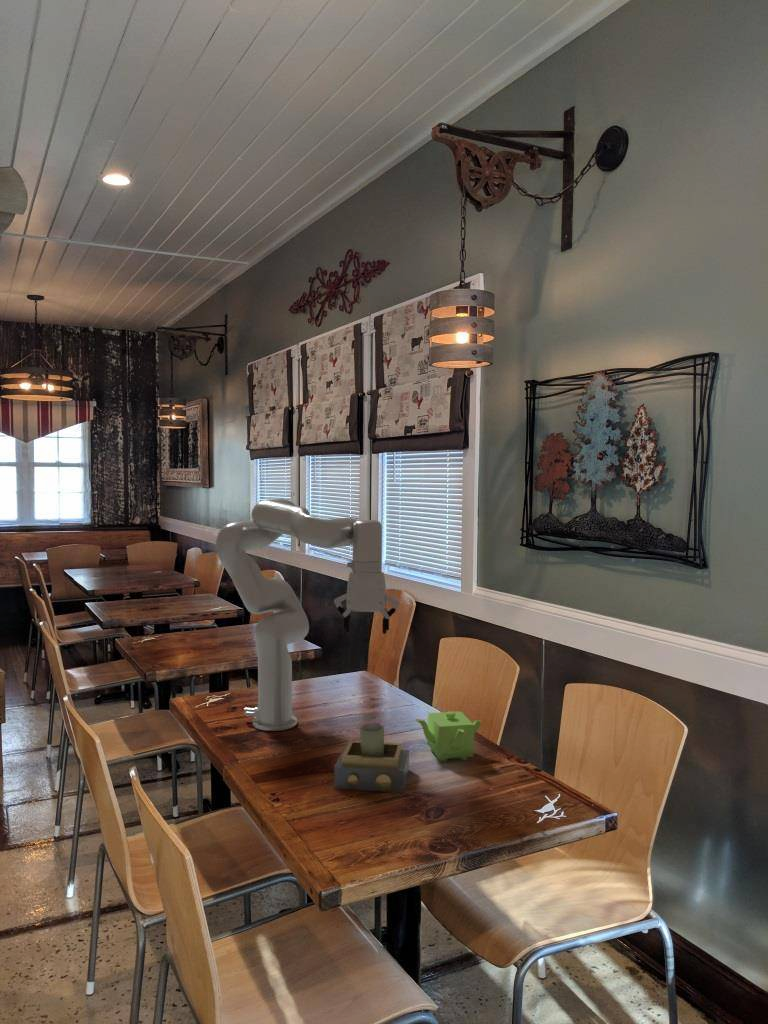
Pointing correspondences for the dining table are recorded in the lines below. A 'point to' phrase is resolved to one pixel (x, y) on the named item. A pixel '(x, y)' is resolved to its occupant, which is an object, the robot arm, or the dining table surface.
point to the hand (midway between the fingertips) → (366, 632)
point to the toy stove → (372, 769)
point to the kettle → (450, 734)
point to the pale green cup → (372, 740)
